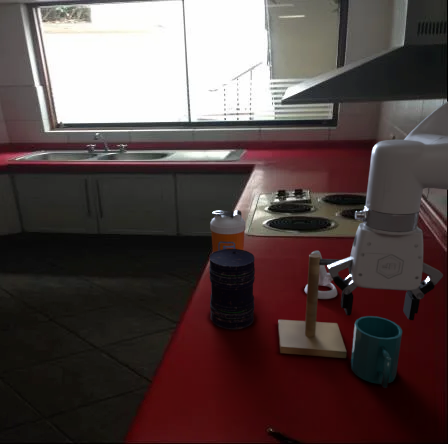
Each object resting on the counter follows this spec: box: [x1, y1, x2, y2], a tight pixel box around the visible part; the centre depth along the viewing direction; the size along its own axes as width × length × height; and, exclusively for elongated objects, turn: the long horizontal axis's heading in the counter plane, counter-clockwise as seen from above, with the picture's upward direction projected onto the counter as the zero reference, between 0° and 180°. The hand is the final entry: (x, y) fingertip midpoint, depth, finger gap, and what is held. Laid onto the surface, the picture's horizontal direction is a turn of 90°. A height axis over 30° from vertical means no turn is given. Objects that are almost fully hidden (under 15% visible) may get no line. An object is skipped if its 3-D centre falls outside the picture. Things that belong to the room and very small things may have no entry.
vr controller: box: [304, 250, 338, 300], centre depth 105 cm, size 8×12×7 cm
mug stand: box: [277, 253, 347, 359], centre depth 81 cm, size 19×10×19 cm, turn 78°
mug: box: [350, 315, 403, 389], centre depth 72 cm, size 11×7×9 cm
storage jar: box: [208, 249, 256, 330], centre depth 93 cm, size 10×10×15 cm
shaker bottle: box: [209, 209, 247, 253], centre depth 108 cm, size 9×9×20 cm
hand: (377, 313), depth 72 cm, fingers open, 9 cm apart
